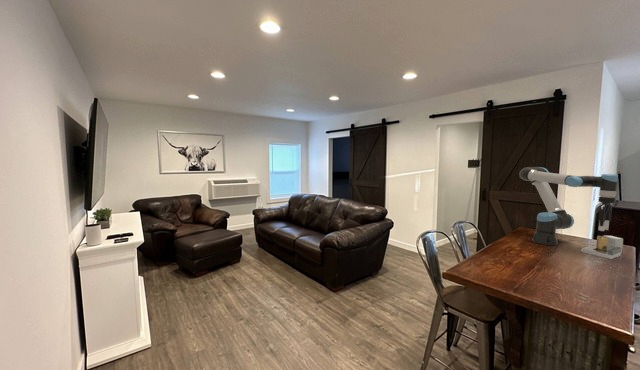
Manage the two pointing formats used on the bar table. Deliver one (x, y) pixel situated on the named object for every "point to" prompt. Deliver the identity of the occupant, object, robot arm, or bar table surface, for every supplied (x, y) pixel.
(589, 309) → the bar table surface
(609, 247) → the small box
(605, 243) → the bushing
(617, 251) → the plate
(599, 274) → the bar table surface
